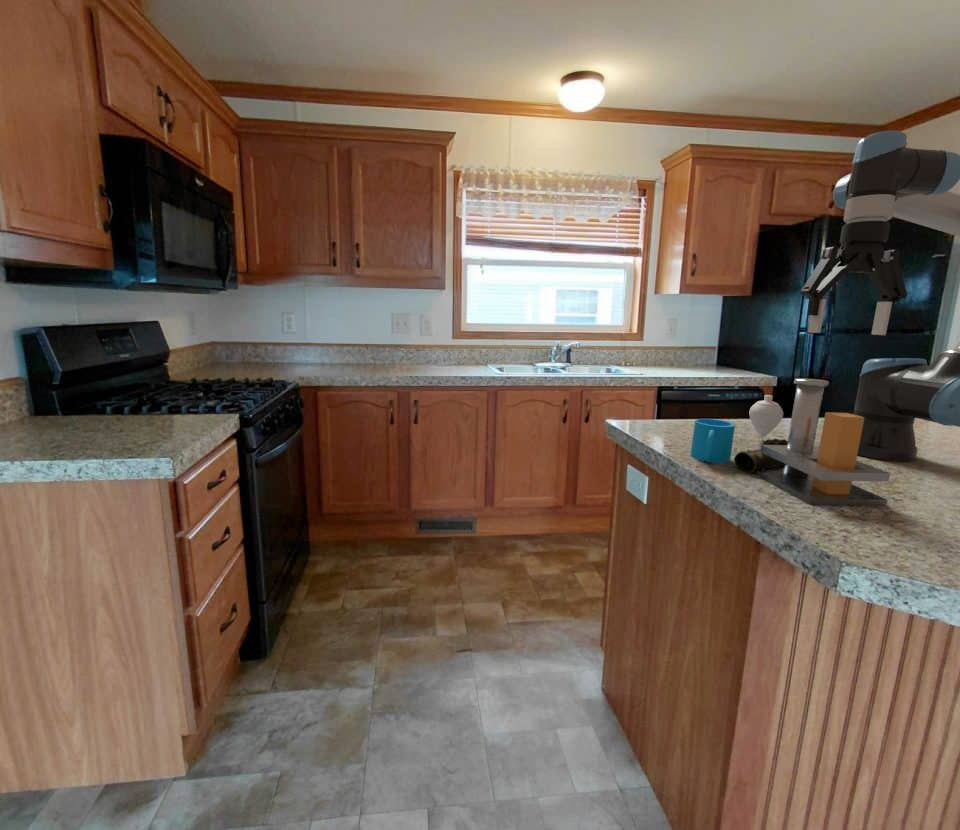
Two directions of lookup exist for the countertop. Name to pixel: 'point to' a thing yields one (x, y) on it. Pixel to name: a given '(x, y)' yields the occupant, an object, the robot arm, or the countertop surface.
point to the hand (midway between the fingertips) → (846, 333)
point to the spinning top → (765, 415)
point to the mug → (712, 440)
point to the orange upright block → (838, 448)
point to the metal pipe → (758, 458)
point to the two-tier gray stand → (815, 457)
